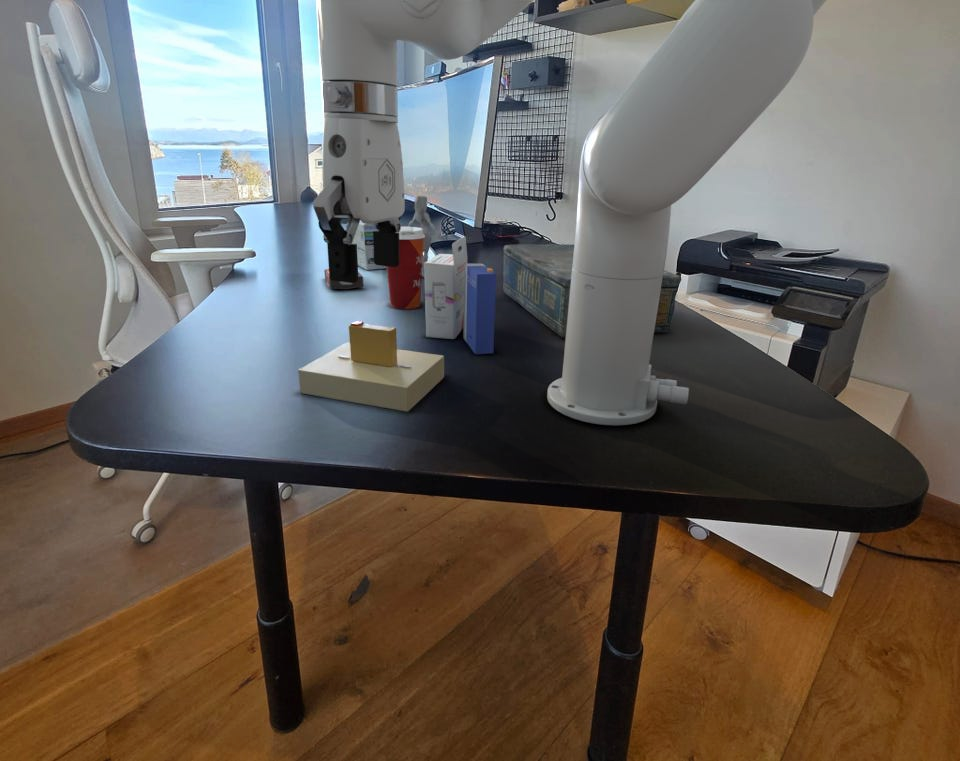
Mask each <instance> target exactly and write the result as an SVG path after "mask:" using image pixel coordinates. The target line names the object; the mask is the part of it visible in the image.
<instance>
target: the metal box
mask: <svg viewBox="0 0 960 761" xmlns="http://www.w3.org/2000/svg"><path fill="white" fill-rule="evenodd" d="M573 255H574V244H568V243H567V244H564V243H563V244H562V243H547V244H541V243H540V244H539V243H537V244H536V243H531V244H530V243H523V244H522V243H520V244H519V243H518V244H505V245H504V246H503V274H502V275H503V283H502V284H503V286H502V288H503V292H504V293H505V294H506V295H507V296H509V298H511V299H512V300H513V301H515V302H516V304H517V303H518V304H519V305H520V306H521V307H522V308H524V309H525V310H526V311H528V312H529V313H530V314H532V315H533V316H534V317H535V318H536V319H538V321H540V322H541V323H543V324H544V325H545V326H547V327H548V328H549V329H550V330H552V331H553V332H555V333H556V334H557V335H559V336H560V337H561V338H562V339H566V329H567V319H568V308H569V297H570V286H571V275H572V266H573ZM681 282H682V276H681V275H679V274H676V273H673V272H670V271H668V270H665V269H664V274H663V278H662V284H661V291H660V297H659V303H658V310H657V316H656V323H655V329H654V334H655V333H668V332H669V331H670V330H671V325H672V321H673V315H674V312H675V306H676V305H675V303H676V297H677V293H678V289H679V287H680V284H681Z"/></svg>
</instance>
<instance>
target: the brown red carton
mask: <svg viewBox="0 0 960 761" xmlns="http://www.w3.org/2000/svg"><path fill="white" fill-rule="evenodd" d="M323 272H324V280H325V281H326V285H327V287H328V288H329V289H331V290H334V289H335V290H336V289H338V290H353V289H355V288H364V276H363V275H362V274H361V273H360V271H358V281H357V282H355V283H348V282H340V281H333V280H331V279H330V277H329V268H328V269H327V268H325V269H324V270H323Z"/></svg>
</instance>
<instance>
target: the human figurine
mask: <svg viewBox="0 0 960 761" xmlns="http://www.w3.org/2000/svg"><path fill="white" fill-rule="evenodd" d="M413 208H414V210H415V212H414V213H413V218H412V220H410V221H409V222H408V225H407V227H412V225H413V224H414V223H415V221H416V222H417V223H419V224H420V227H419V228H422V229H423V234H424V235H425V237H424V238H423V262H422V268H424V263H425V262H427V261H428V260H429V251H430V247H431V244H432V236H431V233H430V232H429V230H428V225H429V226H430V228H431V229H432V231H433V233H434V234H435V235H436V239H437V240H440V241H441V240H443V238H442V237H441V236H442V234H440V233H439V232H438V230H437V228H436V226H435V225H434V224H433V223H432V219H431V217H430V214H429V213H428V212H427V208H428V197H427V196H426V195H419V194H418V195H416V196H415V197H414V207H413ZM422 278H423V279H425V276H424V271H422Z"/></svg>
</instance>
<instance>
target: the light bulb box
mask: <svg viewBox="0 0 960 761" xmlns="http://www.w3.org/2000/svg"><path fill="white" fill-rule="evenodd" d="M373 231H378V230H377V229H376V227H375V225H374V224H365V223H363V222H361V220H360V222H359V225H358V228H357V231H356V234H355V236H354V239H353V242H352V244H357V258H358V267H360V268H362V269H364V270H366V271H368V270H369V271H370V270H371V271H372V270H382V269H383V270H384V269H387V266H381V265H376V264H375V263H374V246H373Z"/></svg>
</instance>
